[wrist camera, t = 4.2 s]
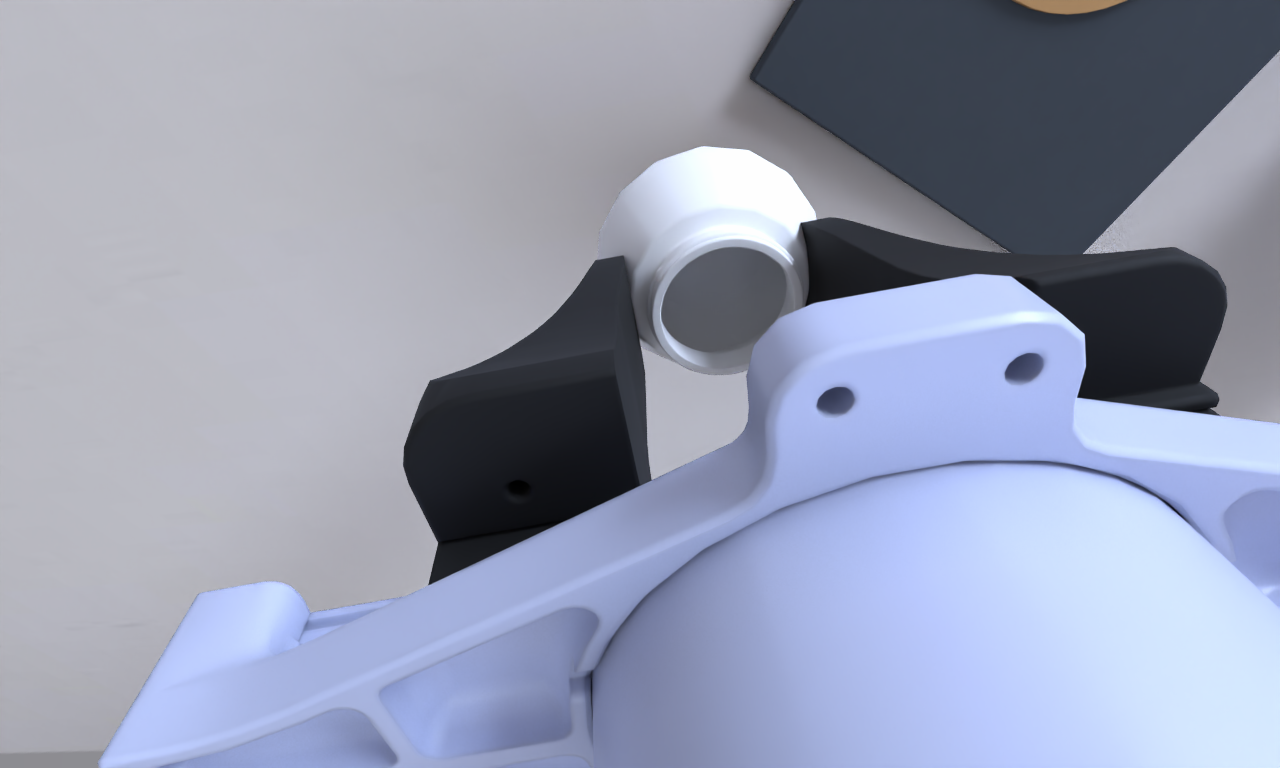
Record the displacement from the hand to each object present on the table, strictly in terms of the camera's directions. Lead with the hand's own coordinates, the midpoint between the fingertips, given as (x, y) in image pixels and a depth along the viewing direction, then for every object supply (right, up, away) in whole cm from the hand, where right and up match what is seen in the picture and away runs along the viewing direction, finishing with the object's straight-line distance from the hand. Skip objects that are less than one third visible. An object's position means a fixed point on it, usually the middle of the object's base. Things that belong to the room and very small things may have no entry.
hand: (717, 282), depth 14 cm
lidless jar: (0, +1, +1) cm, 2 cm away
